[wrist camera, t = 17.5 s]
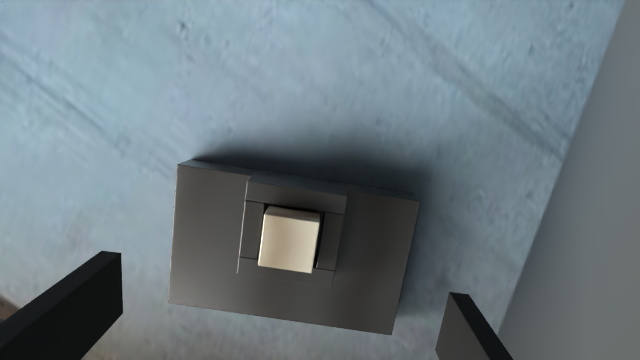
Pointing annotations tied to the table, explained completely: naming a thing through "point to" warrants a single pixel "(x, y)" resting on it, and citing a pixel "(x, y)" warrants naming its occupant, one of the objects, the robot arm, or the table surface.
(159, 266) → the table surface
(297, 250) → the cream square block
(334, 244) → the socket base
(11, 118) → the table surface
